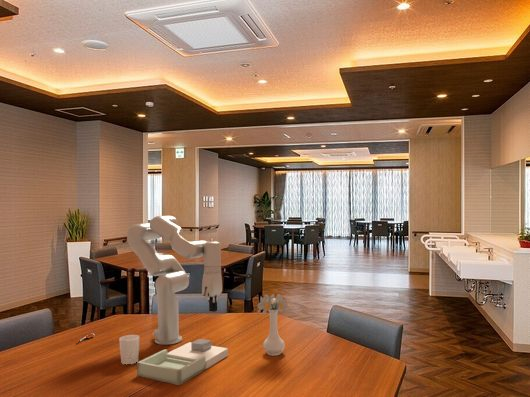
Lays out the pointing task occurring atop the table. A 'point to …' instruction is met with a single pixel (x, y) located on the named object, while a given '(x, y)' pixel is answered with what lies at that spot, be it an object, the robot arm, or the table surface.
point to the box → (169, 368)
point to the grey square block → (201, 345)
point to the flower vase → (273, 322)
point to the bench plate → (199, 354)
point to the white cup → (129, 349)
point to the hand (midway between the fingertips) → (213, 311)
